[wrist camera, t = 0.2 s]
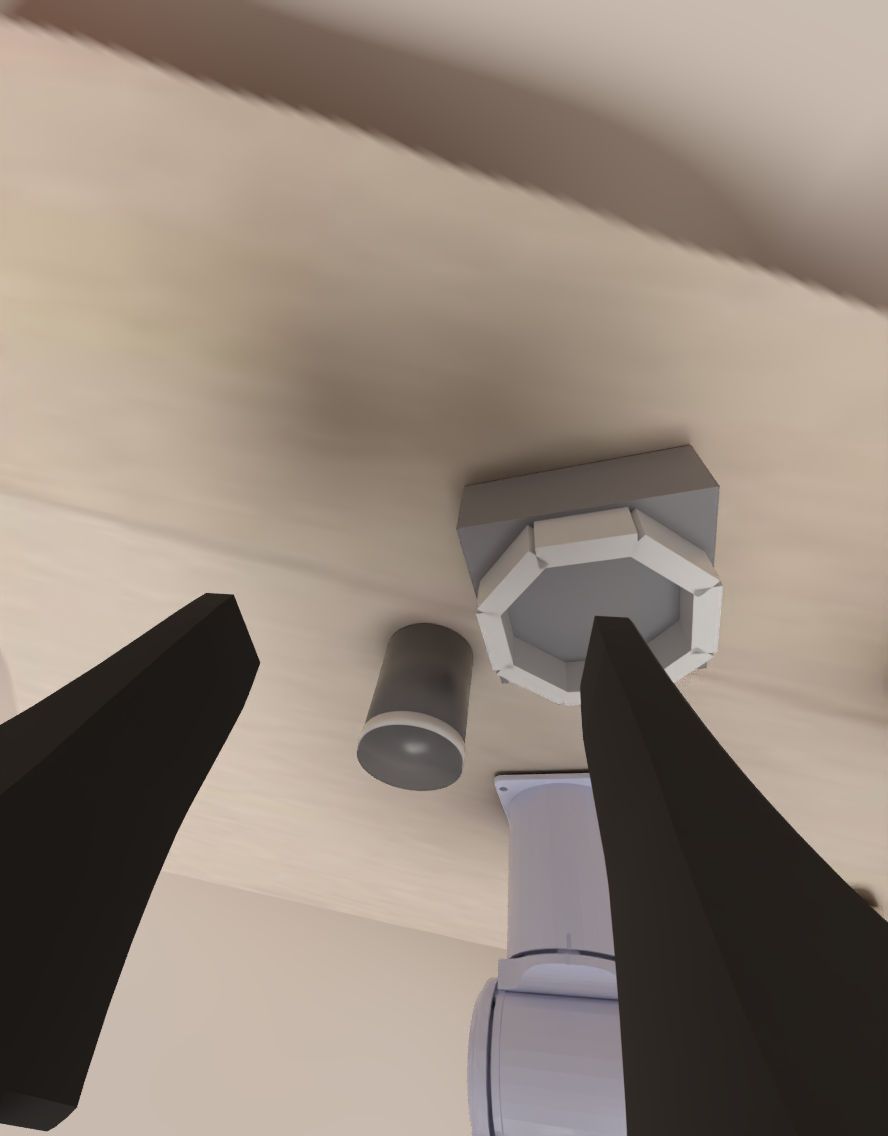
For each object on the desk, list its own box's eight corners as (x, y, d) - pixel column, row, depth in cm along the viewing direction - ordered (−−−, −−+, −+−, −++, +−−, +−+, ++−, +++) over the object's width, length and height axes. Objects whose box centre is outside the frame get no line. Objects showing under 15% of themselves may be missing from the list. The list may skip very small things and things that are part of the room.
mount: (685, 615, 21) (719, 700, 17) (504, 633, 23) (501, 712, 19) (690, 444, 16) (737, 512, 13) (464, 486, 18) (451, 554, 15)
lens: (482, 679, 25) (474, 790, 21) (402, 685, 26) (377, 792, 22) (462, 618, 23) (447, 727, 18) (374, 627, 24) (339, 733, 19)
